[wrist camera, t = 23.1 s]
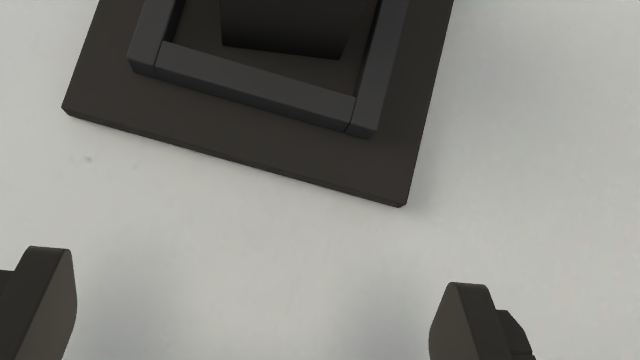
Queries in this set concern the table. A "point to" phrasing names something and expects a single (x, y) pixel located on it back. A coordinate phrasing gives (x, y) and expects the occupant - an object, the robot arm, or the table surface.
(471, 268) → the table surface
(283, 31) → the black block
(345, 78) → the base pad
